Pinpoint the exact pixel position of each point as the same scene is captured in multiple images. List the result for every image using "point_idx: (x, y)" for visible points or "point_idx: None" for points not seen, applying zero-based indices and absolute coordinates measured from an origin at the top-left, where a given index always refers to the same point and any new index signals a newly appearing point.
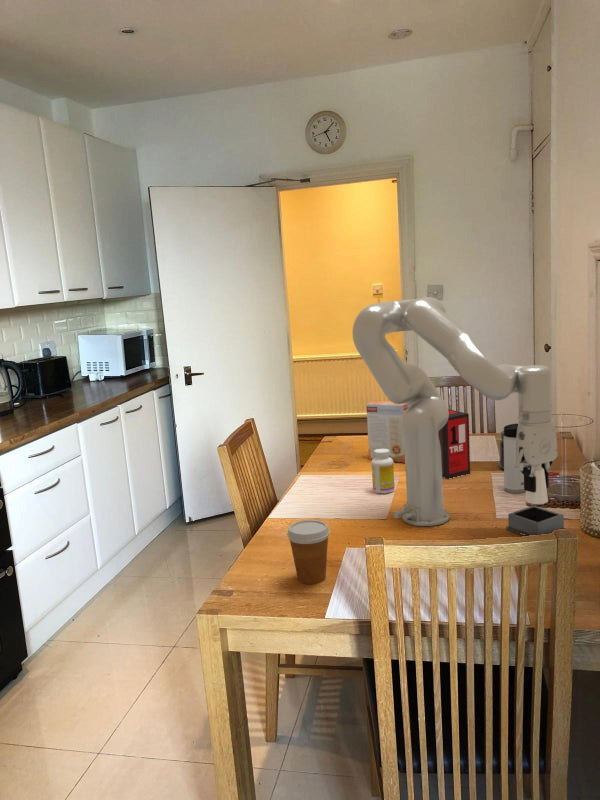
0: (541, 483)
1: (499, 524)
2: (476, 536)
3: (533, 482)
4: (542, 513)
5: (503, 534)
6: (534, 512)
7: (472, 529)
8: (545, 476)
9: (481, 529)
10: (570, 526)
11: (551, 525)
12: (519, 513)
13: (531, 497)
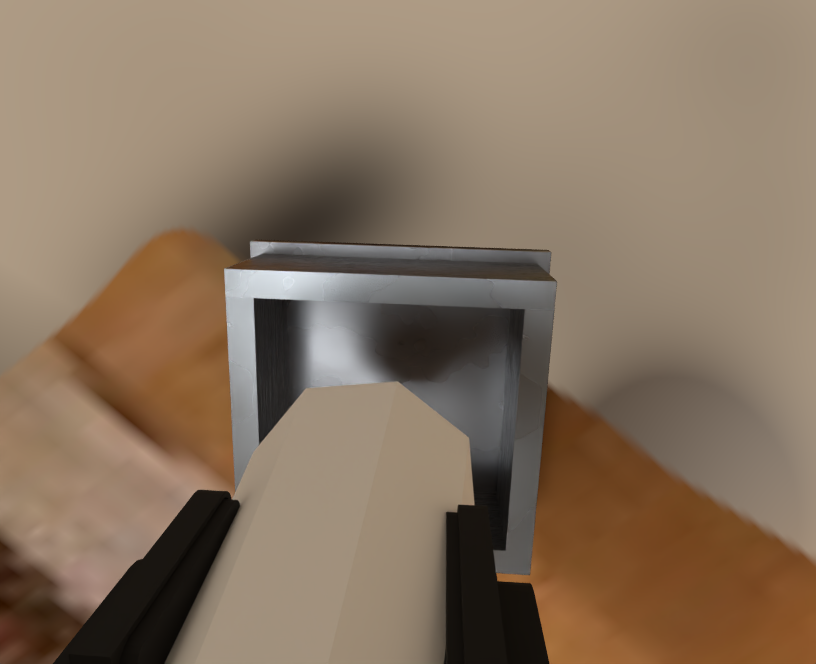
0: (362, 534)
1: None
2: (757, 564)
3: (498, 614)
4: None
5: (609, 475)
6: None
7: (674, 645)
8: (166, 624)
9: (635, 611)
10: (168, 269)
11: (387, 267)
12: None
13: None
